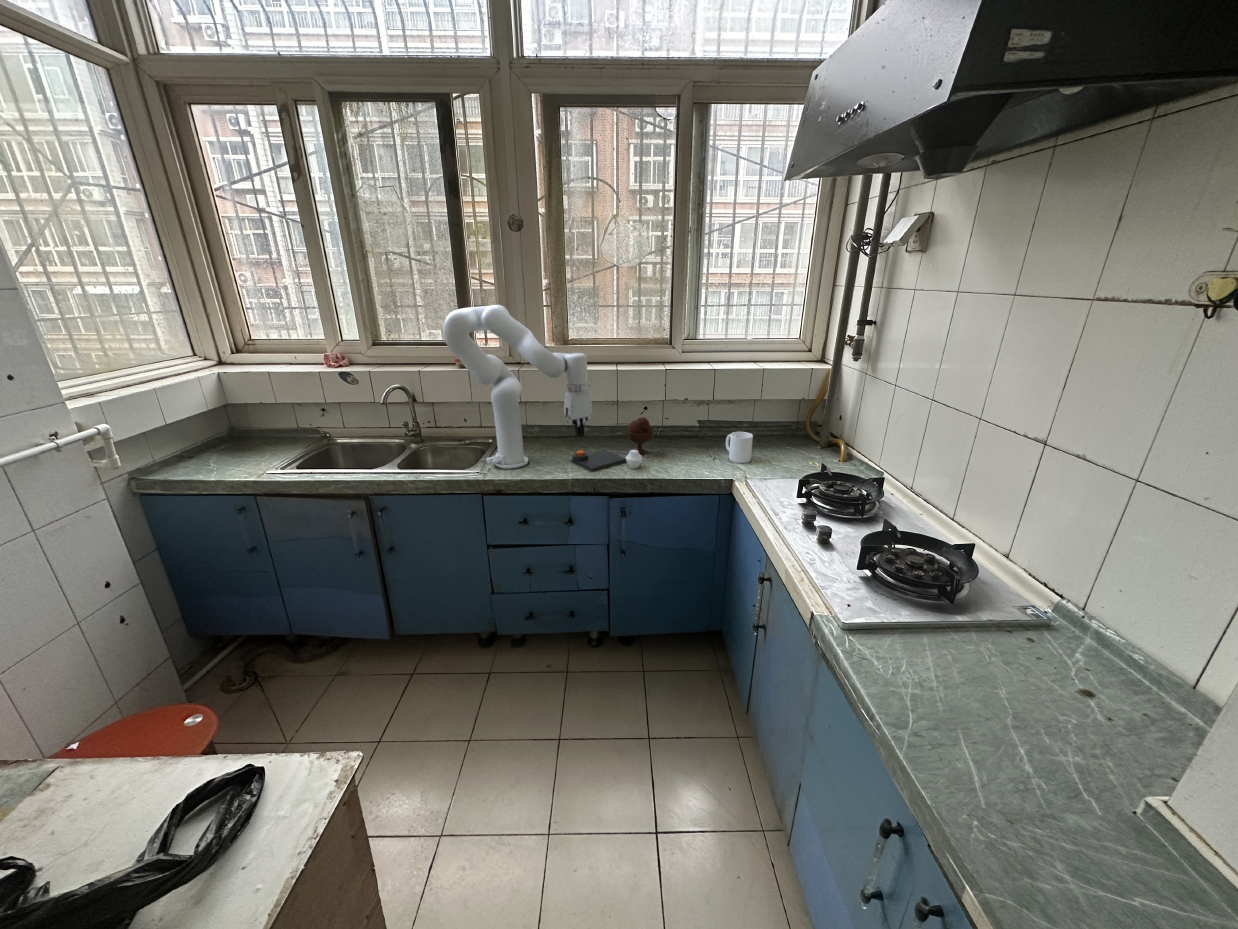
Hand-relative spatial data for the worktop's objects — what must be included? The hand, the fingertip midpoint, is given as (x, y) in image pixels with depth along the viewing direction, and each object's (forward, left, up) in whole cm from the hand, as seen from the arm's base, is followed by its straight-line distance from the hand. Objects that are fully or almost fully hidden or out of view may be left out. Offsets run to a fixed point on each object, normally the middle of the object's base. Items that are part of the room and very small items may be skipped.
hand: (580, 435), depth 189 cm
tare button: (0, 0, -8) cm, 8 cm away
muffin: (+12, -17, -11) cm, 24 cm away
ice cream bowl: (+24, -6, -11) cm, 27 cm away
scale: (+5, -4, -11) cm, 13 cm away
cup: (+49, -35, -11) cm, 62 cm away
